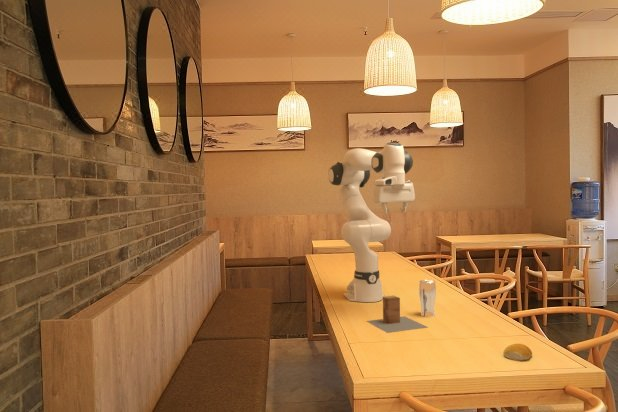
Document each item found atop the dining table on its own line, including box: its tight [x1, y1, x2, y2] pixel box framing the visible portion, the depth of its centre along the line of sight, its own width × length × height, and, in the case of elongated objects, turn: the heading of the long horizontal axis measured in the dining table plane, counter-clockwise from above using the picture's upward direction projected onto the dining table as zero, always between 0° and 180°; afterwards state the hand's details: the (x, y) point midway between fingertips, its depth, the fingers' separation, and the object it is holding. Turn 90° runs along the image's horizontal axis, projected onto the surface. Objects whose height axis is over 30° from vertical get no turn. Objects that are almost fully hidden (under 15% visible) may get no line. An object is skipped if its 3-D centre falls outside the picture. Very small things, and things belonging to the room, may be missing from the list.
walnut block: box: [382, 295, 401, 324], centre depth 208 cm, size 5×5×10 cm
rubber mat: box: [366, 316, 429, 334], centre depth 204 cm, size 18×18×1 cm
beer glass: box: [418, 279, 437, 318], centre depth 217 cm, size 7×7×15 cm
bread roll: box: [503, 343, 533, 362], centre depth 166 cm, size 8×9×4 cm
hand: (394, 213), depth 219 cm, fingers open, 8 cm apart
